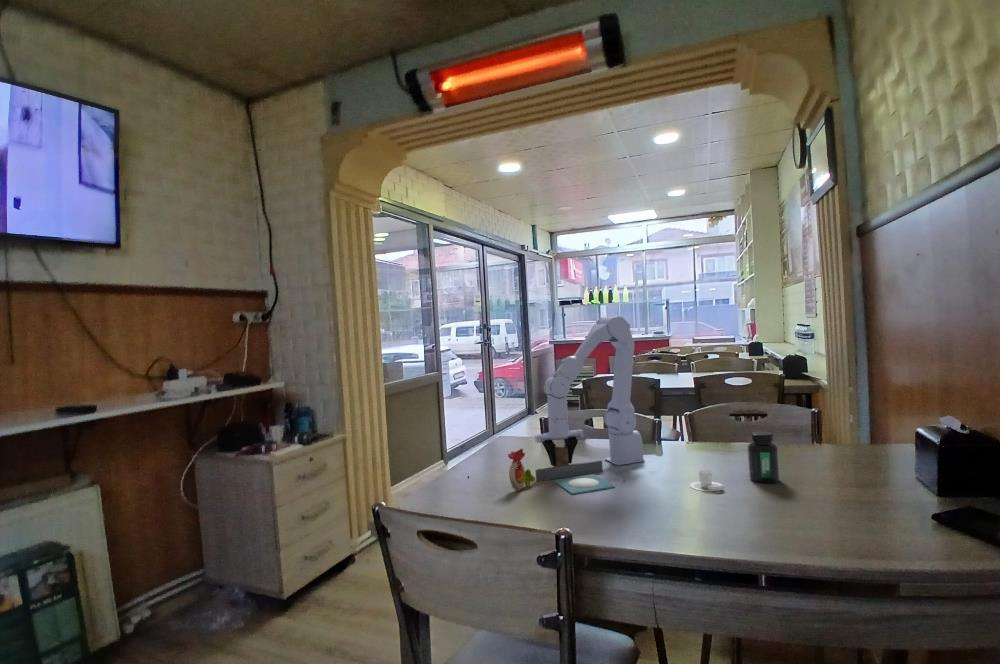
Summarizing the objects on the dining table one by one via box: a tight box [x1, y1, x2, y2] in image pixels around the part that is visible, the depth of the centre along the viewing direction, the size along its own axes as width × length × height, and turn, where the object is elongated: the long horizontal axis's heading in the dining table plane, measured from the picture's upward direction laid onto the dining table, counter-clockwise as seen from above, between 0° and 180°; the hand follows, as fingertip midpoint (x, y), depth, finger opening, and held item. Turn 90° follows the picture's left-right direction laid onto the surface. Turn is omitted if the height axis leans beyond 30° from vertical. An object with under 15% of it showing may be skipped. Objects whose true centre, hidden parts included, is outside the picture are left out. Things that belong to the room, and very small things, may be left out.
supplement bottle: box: [747, 430, 780, 485], centre depth 132 cm, size 7×7×12 cm
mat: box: [553, 473, 616, 495], centre depth 138 cm, size 12×12×1 cm
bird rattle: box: [507, 448, 536, 492], centre depth 138 cm, size 6×11×9 cm
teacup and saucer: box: [689, 469, 725, 492], centre depth 130 cm, size 9×8×4 cm
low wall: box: [534, 459, 603, 482], centre depth 147 cm, size 20×1×3 cm, turn 106°
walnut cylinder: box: [553, 444, 570, 467], centre depth 152 cm, size 4×4×7 cm
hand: (561, 463), depth 152 cm, fingers closed on walnut cylinder, 4 cm apart
